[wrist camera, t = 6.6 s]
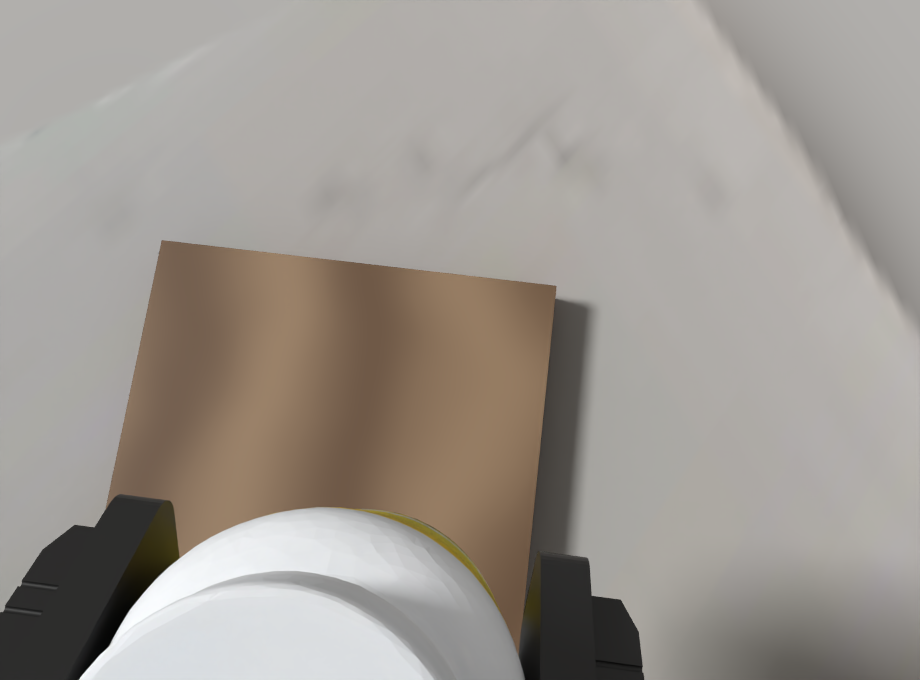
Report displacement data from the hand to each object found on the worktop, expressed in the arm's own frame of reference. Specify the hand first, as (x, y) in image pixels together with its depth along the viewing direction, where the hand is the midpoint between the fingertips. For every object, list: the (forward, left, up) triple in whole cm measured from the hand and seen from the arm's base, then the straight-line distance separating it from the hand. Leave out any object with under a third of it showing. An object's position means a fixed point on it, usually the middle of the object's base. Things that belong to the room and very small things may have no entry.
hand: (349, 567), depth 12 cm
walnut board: (-3, +2, -17) cm, 17 cm away
